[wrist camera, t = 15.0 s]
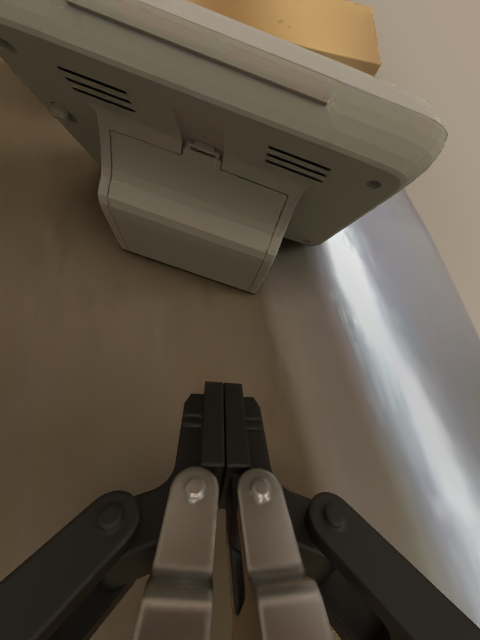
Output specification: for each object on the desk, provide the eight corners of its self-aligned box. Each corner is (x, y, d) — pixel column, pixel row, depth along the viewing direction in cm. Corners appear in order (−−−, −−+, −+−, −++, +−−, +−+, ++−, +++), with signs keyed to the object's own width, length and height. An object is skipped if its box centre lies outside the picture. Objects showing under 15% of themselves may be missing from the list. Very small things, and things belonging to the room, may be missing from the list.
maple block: (320, 123, 22) (372, 7, 16) (322, 170, 21) (381, 64, 14) (121, 83, 20) (83, -72, 13) (108, 132, 19) (59, -14, 12)
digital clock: (335, 235, 19) (489, 56, 9) (284, 341, 16) (424, 251, 6) (141, 126, 19) (79, -172, 9) (56, 213, 16) (-170, -82, 6)
